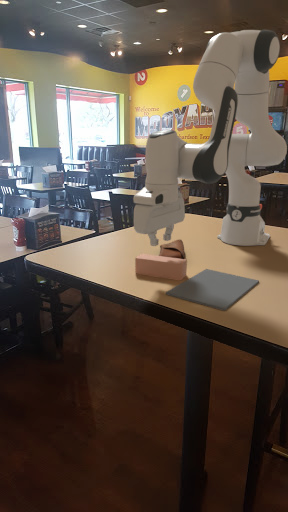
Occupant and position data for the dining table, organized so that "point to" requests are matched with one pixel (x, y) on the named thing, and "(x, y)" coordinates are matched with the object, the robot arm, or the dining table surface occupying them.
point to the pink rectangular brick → (161, 266)
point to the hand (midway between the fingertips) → (160, 242)
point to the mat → (213, 289)
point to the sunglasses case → (173, 250)
